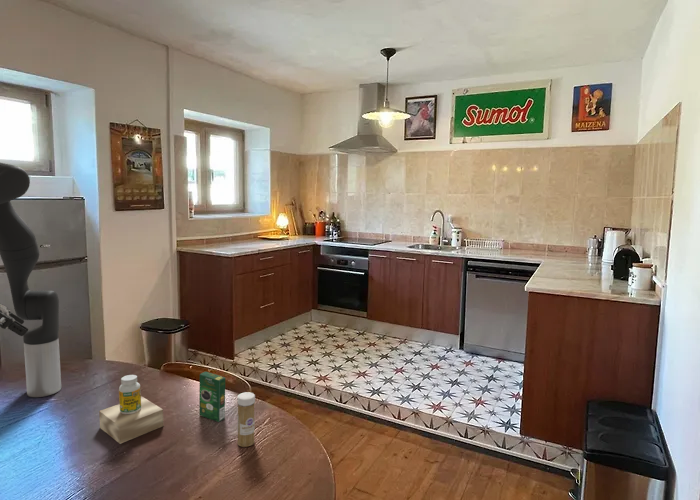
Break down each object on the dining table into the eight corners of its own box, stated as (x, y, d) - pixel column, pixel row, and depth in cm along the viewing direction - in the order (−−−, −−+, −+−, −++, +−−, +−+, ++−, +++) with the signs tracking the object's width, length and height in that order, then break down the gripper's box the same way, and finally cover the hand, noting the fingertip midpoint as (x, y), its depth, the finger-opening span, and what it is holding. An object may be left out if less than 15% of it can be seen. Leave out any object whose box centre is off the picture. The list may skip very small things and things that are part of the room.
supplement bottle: (139, 404, 129) (138, 372, 128) (142, 411, 124) (141, 378, 123) (118, 408, 126) (117, 376, 125) (121, 416, 121) (119, 383, 120)
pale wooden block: (99, 427, 125) (99, 410, 124) (142, 412, 134) (141, 396, 134) (120, 443, 118) (119, 426, 117) (163, 426, 127) (163, 409, 126)
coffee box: (226, 418, 132) (226, 376, 130) (219, 423, 130) (219, 379, 128) (206, 412, 136) (205, 370, 134) (198, 416, 133) (198, 373, 131)
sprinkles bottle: (245, 449, 117) (245, 400, 115) (233, 443, 119) (233, 395, 118) (258, 441, 121) (258, 394, 119) (246, 436, 123) (246, 389, 121)
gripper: (-26, 282, 100) (39, 323, 109) (-28, 272, 111) (31, 310, 120) (-56, 309, 97) (14, 348, 106) (-55, 296, 108) (8, 333, 117)
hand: (23, 328), depth 113 cm, fingers open, 8 cm apart
